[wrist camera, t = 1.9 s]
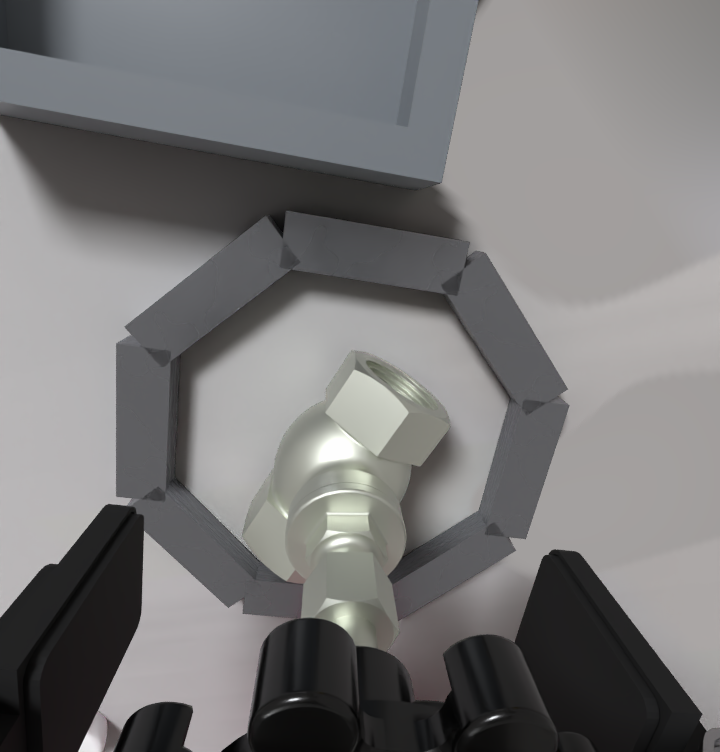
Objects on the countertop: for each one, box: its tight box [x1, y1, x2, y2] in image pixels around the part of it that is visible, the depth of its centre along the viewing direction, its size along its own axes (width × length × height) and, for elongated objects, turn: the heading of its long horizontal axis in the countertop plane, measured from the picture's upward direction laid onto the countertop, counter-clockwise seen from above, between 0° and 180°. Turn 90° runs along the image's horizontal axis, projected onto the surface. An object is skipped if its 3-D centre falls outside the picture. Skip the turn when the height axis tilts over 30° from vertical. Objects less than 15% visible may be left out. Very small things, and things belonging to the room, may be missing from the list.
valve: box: [114, 350, 599, 752], centre depth 11 cm, size 7×7×12 cm
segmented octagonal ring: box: [116, 211, 569, 621], centre depth 16 cm, size 15×15×1 cm
